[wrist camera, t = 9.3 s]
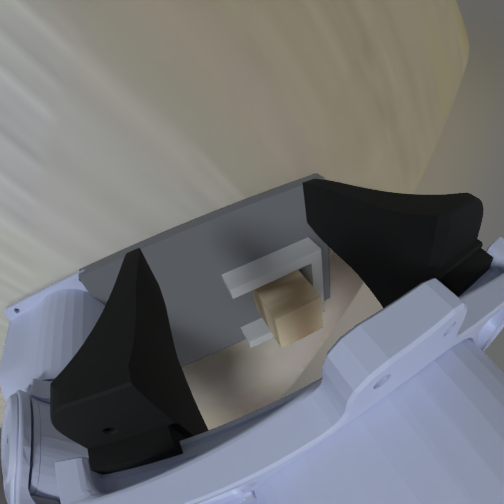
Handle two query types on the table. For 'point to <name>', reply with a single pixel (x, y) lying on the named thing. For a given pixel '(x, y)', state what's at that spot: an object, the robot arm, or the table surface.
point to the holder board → (225, 268)
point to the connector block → (289, 307)
